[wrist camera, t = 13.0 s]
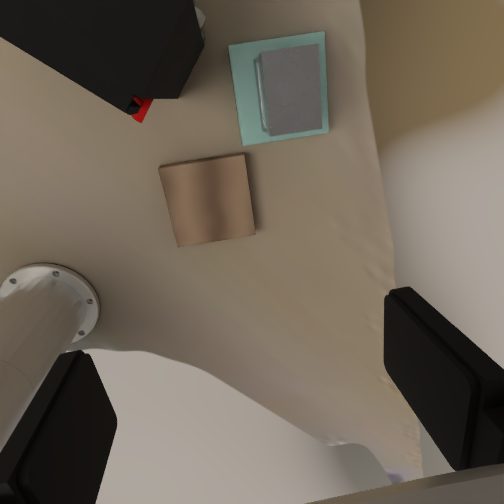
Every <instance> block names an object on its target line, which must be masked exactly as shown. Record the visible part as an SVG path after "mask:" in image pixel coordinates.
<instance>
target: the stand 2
mask: <svg viewBox="0 0 504 504" xmlns="http://www.w3.org/2000/svg"><path fill="white" fill-rule="evenodd" d="M317 43H318V44H319V65H320V86H321V107H322V128H323V129H317V130H311V131H304V132H298V133H291V134H285V135H278V136H272V137H270V136H269V135H267V132H263V131H262V129H261V120H260V112H259V103H258V95H257V86H256V78H255V70H254V61H253V60H254V59H255V58H257V57H259V56H258V55H259V54H260V52H263V51H270V50H277V49H283V48H290V47H297V46H304V45H310V44H317ZM228 52H229V59H230V66H231V73H232V80H233V87H234V94H235V100H236V107H237V114H238V121H239V128H240V135H241V142H242V145H243V146H246V145H253V144H259V143H265V142H272V141H278V140H284V139H291V138H297V137H304V136H310V135H316V134H323V133H329V125H328V101H327V78H326V54H325V31H321V32H314V33H308V34H301V35H294V36H287V37H281V38H274V39H267V40H260V41H254V42H247V43H240V44H234V45H228Z"/></svg>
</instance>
